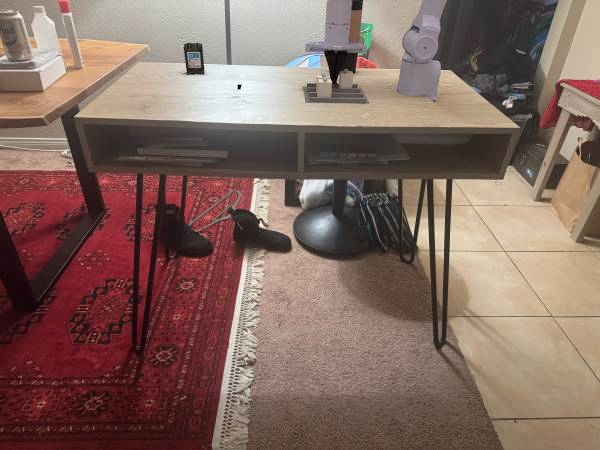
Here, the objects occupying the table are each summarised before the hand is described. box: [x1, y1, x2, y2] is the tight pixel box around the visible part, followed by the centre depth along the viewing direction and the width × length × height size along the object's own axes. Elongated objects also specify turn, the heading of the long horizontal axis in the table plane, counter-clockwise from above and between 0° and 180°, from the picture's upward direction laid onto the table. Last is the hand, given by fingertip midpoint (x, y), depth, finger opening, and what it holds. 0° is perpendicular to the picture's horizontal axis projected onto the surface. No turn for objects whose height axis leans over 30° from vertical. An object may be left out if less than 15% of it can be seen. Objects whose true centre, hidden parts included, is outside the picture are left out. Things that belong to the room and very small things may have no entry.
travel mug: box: [334, 0, 364, 76], centre depth 119 cm, size 8×8×20 cm
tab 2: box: [338, 69, 354, 88], centre depth 106 cm, size 3×3×5 cm
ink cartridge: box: [183, 42, 205, 75], centre depth 119 cm, size 5×2×8 cm, turn 99°
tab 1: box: [317, 77, 332, 98], centre depth 99 cm, size 3×3×5 cm
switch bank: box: [302, 82, 371, 105], centre depth 104 cm, size 15×13×2 cm
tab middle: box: [315, 71, 330, 92], centre depth 103 cm, size 3×3×5 cm
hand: (333, 83), depth 107 cm, fingers closed
